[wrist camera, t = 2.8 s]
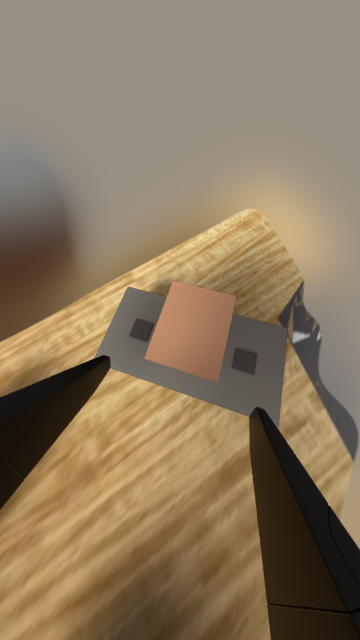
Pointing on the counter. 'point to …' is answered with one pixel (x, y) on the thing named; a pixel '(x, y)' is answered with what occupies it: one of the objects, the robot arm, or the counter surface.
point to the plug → (192, 330)
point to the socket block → (230, 392)
